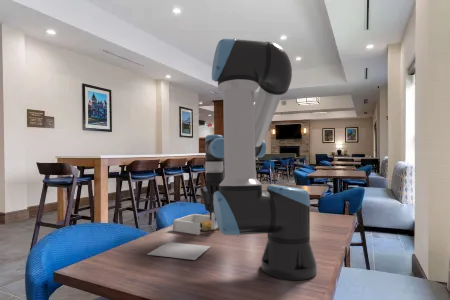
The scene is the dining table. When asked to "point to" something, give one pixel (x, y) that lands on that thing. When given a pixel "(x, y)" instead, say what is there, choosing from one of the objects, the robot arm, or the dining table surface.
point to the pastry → (206, 226)
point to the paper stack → (180, 250)
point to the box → (189, 223)
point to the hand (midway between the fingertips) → (214, 228)
